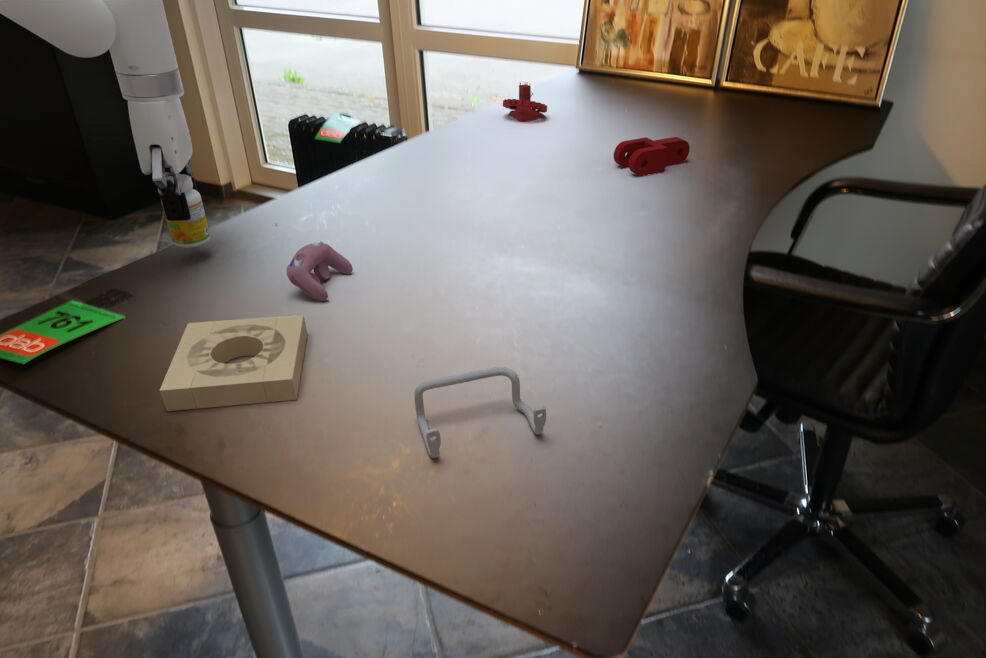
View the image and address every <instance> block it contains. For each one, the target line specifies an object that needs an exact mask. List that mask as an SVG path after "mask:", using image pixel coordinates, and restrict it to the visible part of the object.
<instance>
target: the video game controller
mask: <svg viewBox="0 0 986 658" xmlns="http://www.w3.org/2000/svg"><path fill="white" fill-rule="evenodd" d="M329 267H330V268H332V269H333V270H335V271H337V272H339V273H342V274H346V275H349V274H351V273H352V272H353V271H354V269H353V265H352V263H351V262H350V261H349V260H348V259H347V258H346V257H345V256H343V255H342V254H340V253H339V252H338V251H337V250H335V249H334V248H333V247H331V246H330V245H329V244H327V243H324V242H323V241H318V242H317V241H315V242H313V243H309V244H306V245H304V246H302V247H301V248H299V249H298V250H297V252H295V254H294V256H293V257H292V259H291V261H290V263H289V264H288V265H287V266H286V275H287V278H288V280H289V281H290V283H291V284H292V285H293V286H295V287H297V288H299V290H300V291H302V292H303V293H304V294H306V295H307V296H308V297H310V298H312V299H313V300H316V301H318V302H326V301H327V300H328V298H329V294H328V292H327V290H326V289H325V287H324V286H323V285H322V284H321V282H322V281H325V280H327V279H329V278H330V277H331V272H330V268H329Z"/></svg>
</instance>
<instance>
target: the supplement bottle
mask: <svg viewBox="0 0 986 658" xmlns="http://www.w3.org/2000/svg"><path fill="white" fill-rule="evenodd" d="M179 177H180V183H181V190H182V193H183V192H185V195H186V199H187V203H188V207H189V211H190V215H191V218H190V220H181V221H168V220H167V219H166V215H165V212H164V208H163V205H162V201H161V200H160V202H161V206H162V209H163V213H164V217H165V220H166V225H167V227H168V231H169V235H170V239H171V242H172V244H173V245H174V246H176V247H180V248H194V247H195V248H196V247H200V246H202V245H205V244H206V243H208V242H209V241H210V239H211V231H210V229H209V224H208V220H207V216H206V211H205V208H204V204H203V200H202V196H201V194H200V192H199V190H198V191H196V190H194V189H192V188H193V183H192V179H191V177H190V176H188V175H184V174H179ZM166 178H167V180H171V181H172V182H173V184H174V180H173V176H166Z"/></svg>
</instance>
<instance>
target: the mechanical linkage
mask: <svg viewBox="0 0 986 658" xmlns="http://www.w3.org/2000/svg"><path fill="white" fill-rule="evenodd" d="M690 149H691V148H690V144H689V142H688V141H687V140H685V139H683V138H681V137H678V136H671V137H665V138H661V139H654V140H653V139H651V138H649V137H647V136H646V137H640V138H634V139H629V140H628V139H627V140H623V141H620V142H619V143H618V144H617V145H616V146H615V149H614V151H613V161H614V162H615V164H617V165H618V166H620V167H622V168H625V169H627V168H626V167H628V168H629V169H628V170H629V171H630V172H631V173H632V174H635V175H636V176H638V177H644V176H643V175H645V176H649V175H648V174H650V175H655V174H654V173H656V174H659V173H658V172H661V173H665V172H664V171H666V167H669V166H668V165H671V166H675V165H674V164H676V165H679V164H682V163H684V162H685V161H686V160H687V158H688V156H689V154H690Z"/></svg>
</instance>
